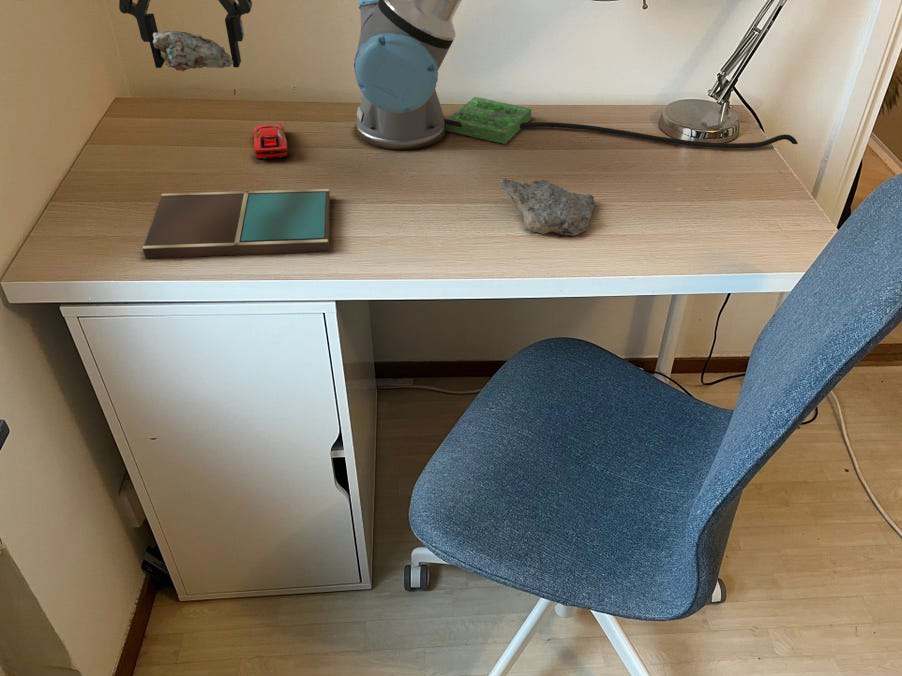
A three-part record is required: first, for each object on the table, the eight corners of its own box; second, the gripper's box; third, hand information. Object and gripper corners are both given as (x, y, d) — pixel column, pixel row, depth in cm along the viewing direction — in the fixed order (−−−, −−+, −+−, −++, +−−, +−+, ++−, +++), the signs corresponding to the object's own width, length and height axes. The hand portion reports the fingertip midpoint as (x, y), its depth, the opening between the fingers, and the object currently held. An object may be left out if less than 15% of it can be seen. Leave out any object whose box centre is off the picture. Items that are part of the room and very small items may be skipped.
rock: (578, 221, 106) (484, 184, 111) (570, 249, 108) (479, 211, 113) (613, 196, 116) (526, 163, 121) (606, 222, 119) (521, 189, 123)
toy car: (254, 132, 133) (251, 114, 130) (285, 130, 134) (282, 112, 132) (256, 163, 124) (253, 144, 122) (289, 161, 125) (286, 142, 123)
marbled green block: (530, 119, 141) (531, 105, 139) (505, 144, 133) (505, 130, 131) (474, 107, 144) (475, 93, 143) (446, 130, 136) (446, 116, 134)
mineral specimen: (170, 86, 107) (159, 41, 103) (148, 59, 114) (137, 15, 110) (239, 74, 111) (231, 31, 107) (214, 49, 118) (205, 7, 114)
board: (330, 198, 117) (329, 188, 115) (328, 251, 106) (327, 241, 104) (164, 203, 114) (161, 193, 113) (145, 258, 103) (142, 248, 102)
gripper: (256, -121, 102) (280, 55, 117) (75, -123, 100) (124, 55, 115) (249, -110, 96) (276, 73, 111) (58, -112, 94) (111, 74, 109)
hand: (199, 64), depth 113 cm, fingers closed on mineral specimen, 10 cm apart
